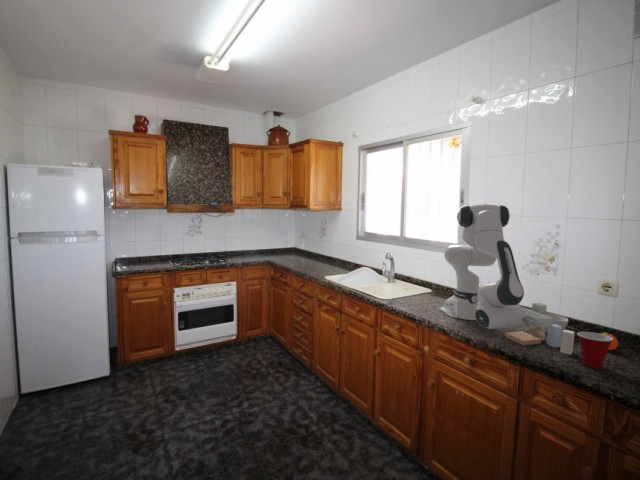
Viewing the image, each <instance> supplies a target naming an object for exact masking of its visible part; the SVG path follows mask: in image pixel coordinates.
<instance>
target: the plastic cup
mask: <svg viewBox="0 0 640 480" xmlns="http://www.w3.org/2000/svg"><path fill="white" fill-rule="evenodd" d="M576 335H577V336H578V340H579V344H580V354H581V361H582V364H583V365H584V366H586V367H588V368H592V369H597V370H599V369H602V367H603V365H604V362H605V360H606V357H607V354H608V351H609V350H608V349H609V346H610V344H611V342H612V340H613V338H612V337H610V336H607V335H603V333H601V334H599V333H597V332H590V331H580V332H579V331H578V332H576Z"/></svg>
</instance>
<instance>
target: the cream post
mask: <svg viewBox="0 0 640 480" xmlns="http://www.w3.org/2000/svg"><path fill="white" fill-rule="evenodd" d="M574 342H575V331H573V330H569V329H568V330H567V329H566V328H565V329H564V330H563V331H562V334H561V344H560V347H559V348H560V350H559V353H561V354H565V355H567V356H568V355H569V356H571V355H572V353H573V349H574Z"/></svg>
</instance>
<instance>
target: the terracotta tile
mask: <svg viewBox="0 0 640 480" xmlns="http://www.w3.org/2000/svg"><path fill="white" fill-rule="evenodd" d="M504 337H505V338H506V339H509V340H511V341H512V342H515V343H517V344H519V345H521V346H531V345H538V344H539V345H540V344H542V341H541V339H540V338H537V337H535V336H533V335H532V334H530V333H528V332H525V331H523V330H520V331H511V332H510V331H509V332H504Z"/></svg>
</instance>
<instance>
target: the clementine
mask: <svg viewBox="0 0 640 480" xmlns="http://www.w3.org/2000/svg"><path fill="white" fill-rule="evenodd" d="M598 334H603V335H607V336H610V337H612V338H613V340H612V342H611V344H610V346H609V349H608V351H613V350H615V349H617V348H618V345H619V342H618V339H617V337H615V336H614V335H613V334H611V333H608V332H600V333H598Z"/></svg>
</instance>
